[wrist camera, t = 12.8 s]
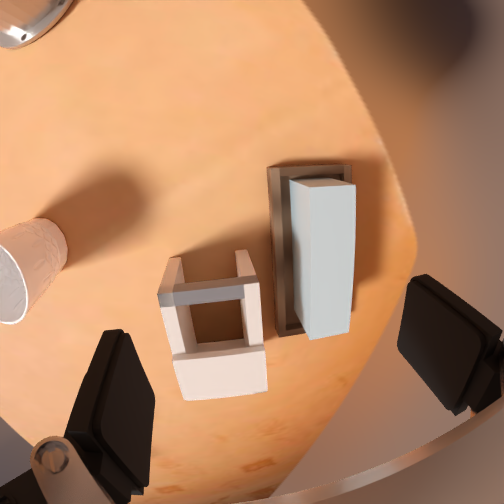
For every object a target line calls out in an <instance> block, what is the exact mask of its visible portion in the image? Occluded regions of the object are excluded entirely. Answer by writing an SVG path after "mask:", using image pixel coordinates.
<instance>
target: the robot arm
mask: <svg viewBox="0 0 504 504" xmlns="http://www.w3.org/2000/svg"><path fill="white" fill-rule="evenodd" d="M72 1H73V0H0V46H1V47H3V48H6V49H16V48H20V47H23V46H25V45H28V44H30V43H31V42H33V41H35V40H36V39H38V38H39V37H41V36H42V35H43V34H45V33H46V32H47V31H48V30H49V29H50V28H51V27H53V26H54V25H55V24H56V22H57V21H58V20H59V19H60V18H61V17H62V16H63V14H64V13H65V12H66V11H67V9H68V8H69V6H70V5H71V3H72ZM501 333H502V330H501V329H500V328H499V327H498V326H496V325H495V324H494V323H492V322H491V321H490V320H489V319H487V318H486V317H485V316H484V315H482V314H481V313H480V312H478V311H477V310H476V309H475V308H473V307H472V306H471V305H469V304H468V303H467V302H465V301H464V300H463V299H461V298H460V297H459V296H457V295H456V294H454V293H453V292H452V291H450V290H449V289H447V288H446V287H445V286H443V285H442V284H441V283H439V282H438V281H436V280H435V279H434V278H432V277H431V276H429V275H427V274H423V275H420V276H415V277H413V278H412V279H411V280H410V282H409V283H408V285H407V291H406V297H405V303H404V310H403V315H402V321H401V326H400V331H399V336H398V341H397V347H398V350H399V352H400V353H401V354H402V355H403V357H404V358H405V359H406V360H407V361H408V363H409V364H410V365H411V366H412V367H413V369H414V370H415V371H416V372H417V373H418V375H419V376H420V377H421V378H422V379H423V381H424V382H425V383H426V384H427V386H428V387H429V388H430V389H431V390H432V392H433V393H434V394H435V395H436V397H437V398H438V399H439V400H440V402H441V403H442V404H443V405H444V407H445V408H446V409H447V410H451V411H452V413H453V414H454V415H455V416H456V415H458V414H460V413H461V412H463V411H465V410H466V409H467V406H468V405H469V406H470V408H471V417H470V419H468V420H467V421H466V422H464V423H462V424H460V425H459V426H457V427H456V428H454V429H452V430H451V431H449V432H447V433H445V434H444V435H442V436H440V437H438V438H436V439H435V440H433V441H431V442H429V443H427V444H425V445H423V446H421V447H419V448H417V449H415V450H413V451H411V452H409V453H407V454H405V455H403V456H400V457H398V458H396V459H394V460H392V461H389V462H387V463H384V464H382V465H380V466H377V467H375V468H372V469H370V470H367V471H364V472H362V473H359V474H356V475H353V476H350V477H347V478H345V479H342V480H339V481H335V482H332V483H329V484H326V485H322V486H319V487H315V488H311V489H307V490H304V491H300V492H295V493H291V494H287V495H282V496H277V497H273V498H267V499H261V500H256V501H249V502H242V503H235V504H504V339H503V341H502V342H501V341H500V340H499V338H500V336H501ZM154 408H155V395H154V392H153V390H152V387H151V385H150V383H149V381H148V378H147V376H146V374H145V372H144V369H143V367H142V364H141V362H140V360H139V357H138V355H137V352H136V350H135V347H134V344H133V342H132V339H131V337H130V335H129V333H124V331H123V330H122V329H116V330H106V331H104V332H103V334H102V336H101V339H100V341H99V344H98V346H97V348H96V351H95V353H94V356H93V358H92V361H91V363H90V366H89V368H88V371H87V373H86V375H85V376H84V379H83V381H82V384H81V387H80V389H79V392H78V395H77V398H76V400H75V403H74V406H73V409H72V412H71V415H70V418H69V421H68V424H67V427H66V430H65V434H64V437H59V436H50V437H47V438H45V439H43V440H41V441H40V442H38V443H37V444H36V446H35V447H34V448H33V450H32V453H31V456H30V463H31V469H30V470H28V471H27V472H25V473H23V474H21V475H20V476H18V477H16V478H15V479H13V480H11V481H10V482H8V483H6V484H5V485H3V486H1V487H0V504H130V503H129V502H130V501H131V495H143V494H144V487H147V486H148V485H149V473H150V456H151V442H152V430H153V419H154Z"/></svg>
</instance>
